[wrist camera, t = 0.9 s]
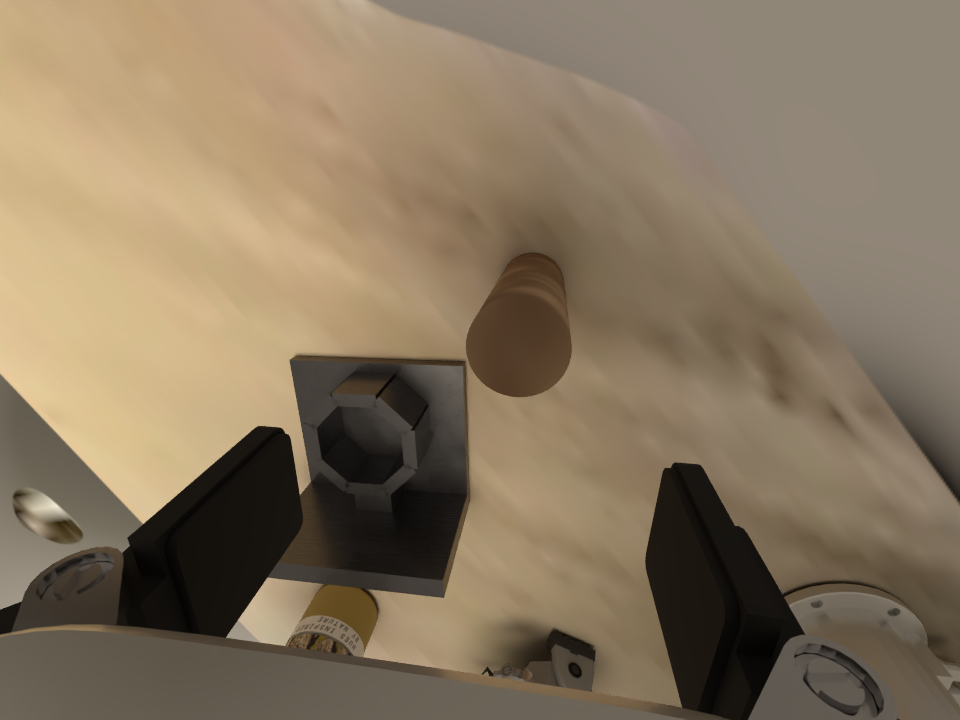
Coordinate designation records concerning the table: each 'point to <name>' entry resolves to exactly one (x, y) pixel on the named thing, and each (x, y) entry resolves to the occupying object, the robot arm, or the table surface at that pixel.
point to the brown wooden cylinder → (522, 329)
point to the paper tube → (336, 622)
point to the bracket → (380, 473)
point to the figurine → (557, 666)
